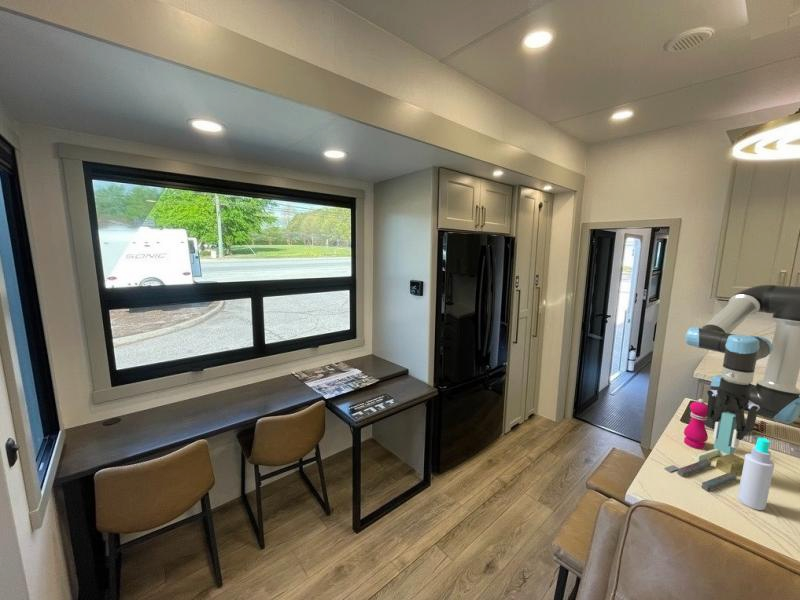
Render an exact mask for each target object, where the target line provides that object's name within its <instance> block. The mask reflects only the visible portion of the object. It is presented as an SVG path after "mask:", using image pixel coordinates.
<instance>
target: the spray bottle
mask: <svg viewBox="0 0 800 600" xmlns="http://www.w3.org/2000/svg"><path fill="white" fill-rule="evenodd" d="M770 442H771V441H770V440H769V439H767V438H764V437H757V440H756V445H755V446H753V447H752V448H751V451H750V453H746V454H744V455H745V457H744V459H745V460H744V465H743V470H741V477H740V482H739V486H738V492H737V499H738V501H739V502H740V503H741V504H742V505H744V506H746V507H747V508H750V509H753V510H757V511H763V510H765V509H766V507H767V503H768V497H769V494H770V493H769V492H770V488H771V483H772V479H773V474H774V469H775V463H774V461H772V460H771V456H772V452H771V451H769V449H770Z"/></svg>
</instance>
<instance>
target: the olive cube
mask: <svg viewBox="0 0 800 600" xmlns="http://www.w3.org/2000/svg"><path fill="white" fill-rule="evenodd" d="M724 456H726V457H728V458H730V459H732V460H734V461H736V462H738V466H737V471H736V473H738V472H740V471H743V465H744V460H745V458H743V457H740V456H738V455H736V454H735V453H733V454H730V455H728V454H727V455H724Z"/></svg>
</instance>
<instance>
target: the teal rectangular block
mask: <svg viewBox="0 0 800 600" xmlns="http://www.w3.org/2000/svg"><path fill="white" fill-rule="evenodd" d="M736 426H737V423H736V416H735V414H733V413H731V412H728V411H727V412H723V413H722V417H721V423H720V428H719V434H718V439H714V444H713V449H718V450H720V451H722V452H724V453H726V454H728V455H730V454H735V453H736V447H735V448H733V447H731V444H732V438H733V432H734V429H736Z"/></svg>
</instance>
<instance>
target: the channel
mask: <svg viewBox="0 0 800 600" xmlns="http://www.w3.org/2000/svg"><path fill="white" fill-rule="evenodd" d="M711 467H712V461H711V460H709V459H705V460H702V461H700V462H698V461H696V462H694V463H691V464H689V465H685V466H683V467H678V468H679V469H678V470H677V472H676V473H677V475H678V476H679V477H682V478H683V477H685V476H689V475H692V474H694V473H696V472H701V471H703V470H706V469H708V468H711ZM737 476H738V474H736V473H733V472H729V473H724V474H722V475H718V476H716V477H714V478H712V479H708V480H706V481H704V482H701V487H700V489H702V490H703V491H705V492H709V491H712V490H715V489H716V488H719V487H721V486H725V485H727V484H729V483H731V482H734V481H736V480H737Z"/></svg>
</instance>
